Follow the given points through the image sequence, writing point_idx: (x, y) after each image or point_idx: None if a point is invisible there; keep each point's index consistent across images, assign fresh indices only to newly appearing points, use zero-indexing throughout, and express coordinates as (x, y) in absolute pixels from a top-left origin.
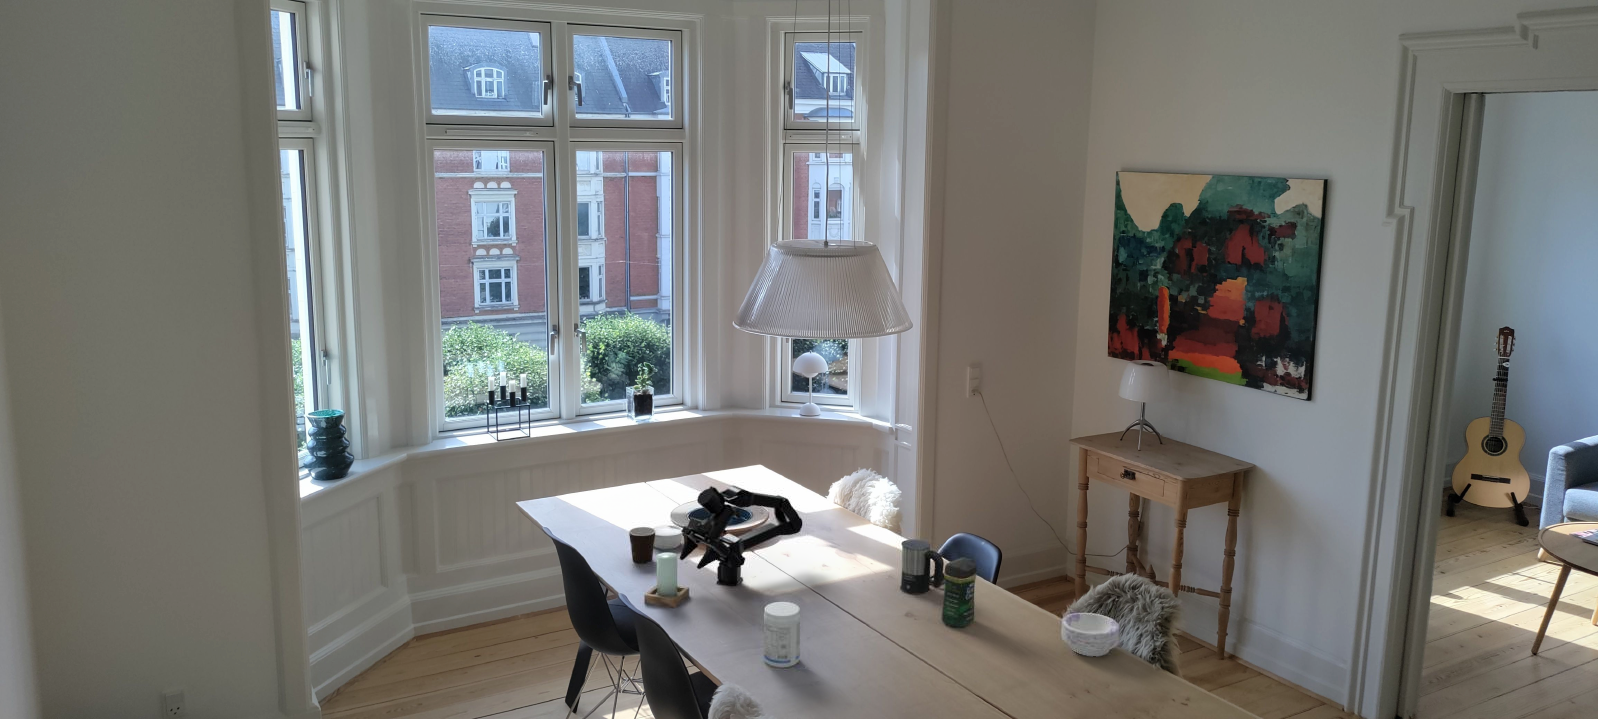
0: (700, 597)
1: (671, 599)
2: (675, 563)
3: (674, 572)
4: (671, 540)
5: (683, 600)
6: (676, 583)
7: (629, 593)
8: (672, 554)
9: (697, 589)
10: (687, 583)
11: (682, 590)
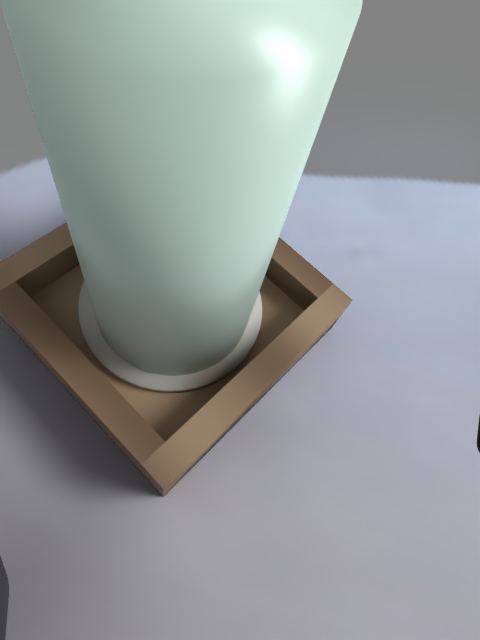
0: (79, 584)
1: (2, 263)
2: (34, 102)
3: (57, 191)
4: None
5: (90, 415)
6: (105, 307)
7: (344, 181)
8: (224, 31)
9: (268, 626)
10: (424, 581)
11: (126, 403)
